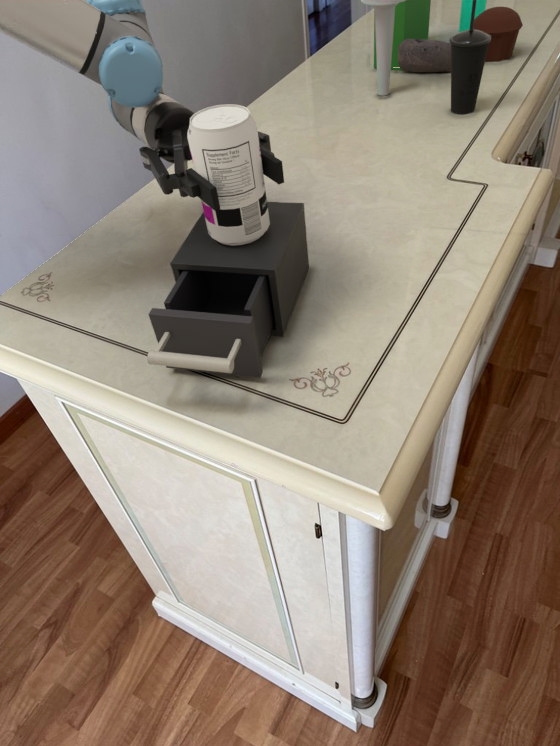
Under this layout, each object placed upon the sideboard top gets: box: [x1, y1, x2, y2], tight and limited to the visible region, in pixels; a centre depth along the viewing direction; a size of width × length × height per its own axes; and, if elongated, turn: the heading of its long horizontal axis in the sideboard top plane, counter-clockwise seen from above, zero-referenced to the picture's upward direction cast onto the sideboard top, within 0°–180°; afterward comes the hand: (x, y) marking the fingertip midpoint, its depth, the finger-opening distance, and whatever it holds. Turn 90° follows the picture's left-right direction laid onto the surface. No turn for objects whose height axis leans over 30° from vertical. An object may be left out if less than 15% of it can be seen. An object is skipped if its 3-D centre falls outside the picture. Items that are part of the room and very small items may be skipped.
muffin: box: [473, 6, 523, 63], centre depth 140 cm, size 12×11×10 cm
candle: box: [458, 0, 488, 33], centre depth 149 cm, size 6×6×12 cm
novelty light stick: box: [360, 0, 406, 97], centre depth 125 cm, size 10×10×25 cm
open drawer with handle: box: [146, 270, 275, 379], centre depth 74 cm, size 20×13×9 cm, turn 166°
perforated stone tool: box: [397, 38, 451, 73], centre depth 138 cm, size 15×5×7 cm, turn 70°
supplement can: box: [187, 103, 270, 245], centre depth 72 cm, size 8×8×15 cm
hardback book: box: [373, 0, 432, 71], centre depth 141 cm, size 18×7×24 cm, turn 150°
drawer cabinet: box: [169, 201, 310, 337], centre depth 82 cm, size 16×14×11 cm
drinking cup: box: [449, 0, 491, 115], centre depth 116 cm, size 8×8×20 cm
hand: (248, 185), depth 69 cm, fingers closed on supplement can, 8 cm apart
